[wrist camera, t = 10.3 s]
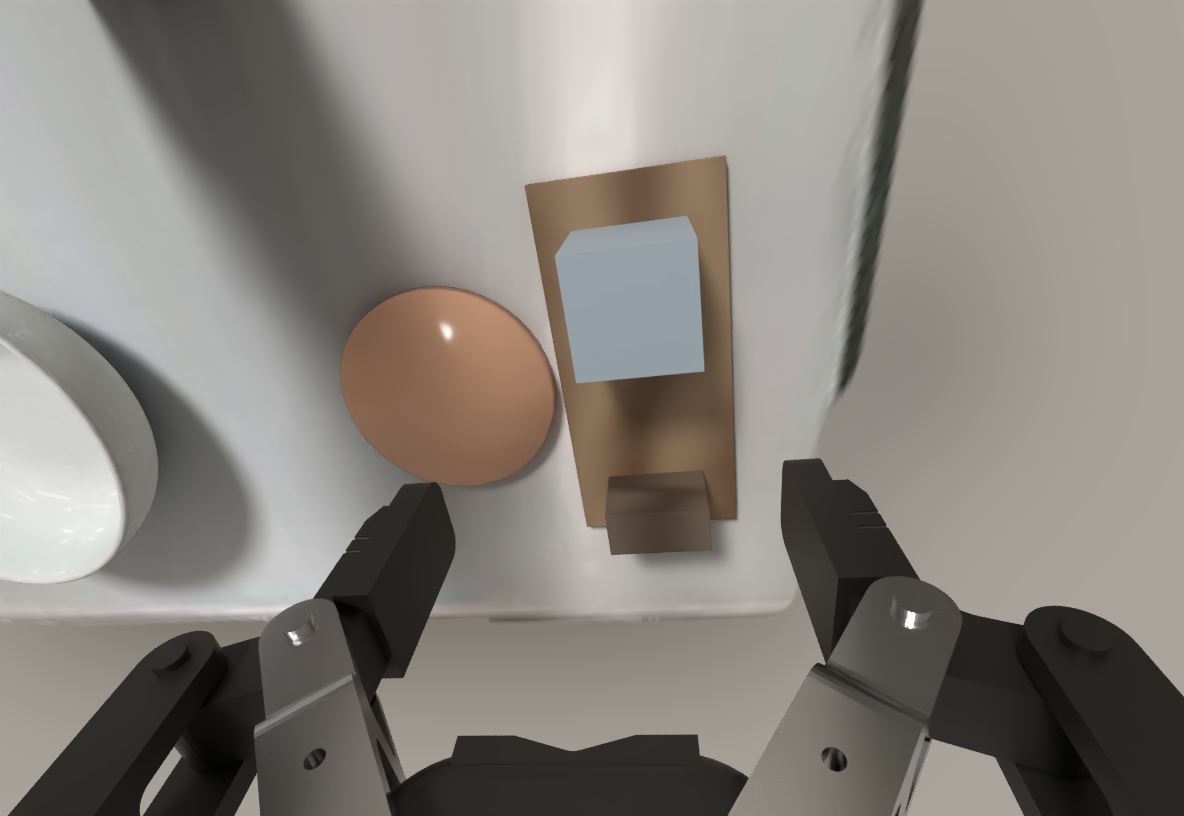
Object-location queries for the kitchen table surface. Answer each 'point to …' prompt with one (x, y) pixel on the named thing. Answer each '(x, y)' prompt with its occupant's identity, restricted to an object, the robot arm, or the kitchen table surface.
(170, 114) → the kitchen table surface
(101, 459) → the serving bowl
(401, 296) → the terracotta saucer
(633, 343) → the slate cube
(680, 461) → the walnut strip
